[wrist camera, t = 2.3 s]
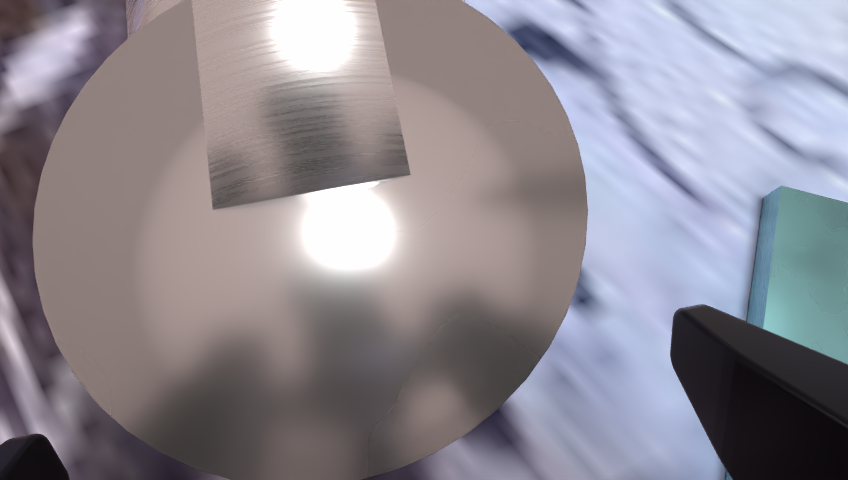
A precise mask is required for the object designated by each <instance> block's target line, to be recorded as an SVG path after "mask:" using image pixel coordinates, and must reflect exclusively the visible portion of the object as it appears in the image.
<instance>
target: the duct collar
mask: <svg viewBox="0 0 848 480" xmlns="http://www.w3.org/2000/svg"><path fill="white" fill-rule="evenodd" d="M747 322H748V323H751V324H753V325H756V326H758V327H760V328H763V329H765V330H768V331H770V332H772V333H775V334H777V335H779V336H782V337H784V338H787V339H789V340H791V341H794V342H796V343H799V344H801V345H803V346H806V347H808V348H811V349H813V350H815V351H818V352H820V353H822V354H825V355H827V356H830V357H832V358H834V359H837V360H839V361H842V362H844V363H846V364H848V203H846V202H843V201H839V200H835V199H831V198H827V197H823V196H819V195H815V194H812V193H808V192H804V191H800V190H796V189H792V188H788V187H784V186H780V187H779V188H777V189H776V190H774V191H773V192H771V193H770V194H768V195H767V196H765V197H764V198H763V206H762V213H761V221H760V228H759V235H758V243H757V250H756V258H755V265H754V272H753V280H752V287H751V295H750V302H749V310H748V317H747ZM726 480H732V478H731V476H730V475H729V473H728V472H727V473H726Z"/></svg>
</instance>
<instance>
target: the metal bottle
mask: <svg viewBox="0 0 848 480" xmlns="http://www.w3.org/2000/svg"><path fill="white" fill-rule="evenodd" d="M126 12H127V28H128V39H127V40H126V41H125V42H124V43H123V44H122V45H121V46H120V47H119V48H118V49H116V50H115V51H114V52H113V53H112V54H111V55H110V56H109V57H108V58H107V59H106V60H105V61H104V63H103V64H102V65H101V66H100V67H99V69H98V70H97V71H96V72H95V73H94V74H93V76H92V77H91V78H90V79H89V80H88V82H87V83H86V84H85V86H84V87H83V89H82V90H81V92H80V93H79V95H78V96H77V98H76V99H75V101H74V102H73V104H72V105H71V107H70V108H69V110H68V111H67V113H66V115H65V117H64V120H63V122H62V124H61V126H60V128H59V130H58V132H57V134H56V136H55V138H54V140H53V142H52V145H51V148H50V150H49V153H48V156H47V159H46V162H45V165H44V168H43V171H42V174H41V179H40V184H39V189H38V194H37V199H36V203H35V211H34V227H33V253H34V265H35V277H36V281H37V285H38V290H39V294H40V298H41V303H42V307H43V311H44V314H45V316H46V319H47V321H48V324H49V326H50V329H51V331H52V334H53V337H54V339H55V342H56V344H57V346H58V348H59V349H60V351H61V353H62V354H63V356H64V358H65V360H66V361H67V363H68V365H69V366H70V368H71V370H72V372H73V373H74V375H75V377H76V378H77V379H78V380H79V381H80V383H81V384H82V385H83V386H84V388H85V389H86V390H87V391H88V393H89V394H90V395H91V396H92V398H93V399H94V400H95V401H96V402H97V404H98V405H99V406H100V407H101V408H102V409H104V410H105V411H106V412H107V413H108V414H109V415H110V416H111V417H112V418H113V419H115V420H116V421H117V422H118V423H119V424H120V425H121V426H122V427H123V428H124V429H126V430H127V431H128V432H130V433H131V434H133V435H134V436H136V437H137V438H139V439H140V440H142V441H143V442H145V443H146V444H148V445H149V446H151V447H152V448H154V449H155V450H157V451H158V452H160V453H162V454H165V455H167V456H169V457H171V458H173V459H175V460H177V461H179V462H182V463H184V464H186V465H188V466H190V467H192V468H194V469H198V470H201V471H204V472H208V473H211V474H214V475H218V476H221V477H224V478H228V479H231V480H361V479H364V478H368V477H372V476H375V475H379V474H382V473H386V472H390V471H393V470H397V469H399V468H401V467H403V466H406V465H408V464H410V463H413V462H415V461H417V460H420V459H422V458H424V457H427V456H429V455H431V454H434V453H435V452H437V451H439V450H440V449H442V448H444V447H445V446H447V445H449V444H450V443H452V442H453V441H455V440H457V439H458V438H460V437H462V436H463V435H465V434H467V433H468V432H470V431H471V430H472V429H473V428H475V427H476V426H477V425H478V424H480V423H481V422H482V421H483V420H485V419H486V418H487V417H488V416H489V415H491V414H492V413H493V412H494V411H496V410H497V409H498V408H499V407H500V406H501V405H502V404H503V403H504V402H505V401H506V400H507V399H508V398H509V397H510V396H511V395H512V394H513V393H514V392H515V391H516V389H517V388H518V387H519V386H520V385H521V384H522V383H523V382H524V381H525V380H526V379H527V378H528V376H529V375H530V373H531V372H532V371H533V369H534V368H535V366H536V365H537V363H538V362H539V361H540V359H541V358H542V356H543V355H544V354H545V352H546V351H547V349H548V348H549V346H550V344H551V343H552V341H553V339H554V337H555V335H556V333H557V331H558V329H559V327H560V325H561V323H562V321H563V320H564V318H565V316H566V314H567V311H568V308H569V305H570V302H571V300H572V297H573V294H574V291H575V288H576V285H577V283H578V280H579V275H580V270H581V265H582V260H583V255H584V251H585V246H586V231H587V215H588V208H587V195H586V182H585V174H584V170H583V165H582V161H581V156H580V151H579V147H578V143H577V141H576V138H575V135H574V133H573V130H572V127H571V124H570V122H569V119H568V116H567V114H566V112H565V110H564V108H563V106H562V104H561V103H560V101H559V99H558V97H557V95H556V93H555V91H554V89H553V87H552V86H551V84H550V83H549V82H548V80H547V79H546V77H545V76H544V75H543V73H542V72H541V70H540V69H539V68H538V66H537V65H536V63H535V62H534V61H533V60H532V58H531V57H530V56H529V55H528V54H527V53H526V52H525V51H524V50H523V49H522V48H521V47H520V46H519V44H518V43H517V42H516V41H515V40H514V39H513V38H512V37H511V36H510V35H508V34H507V33H506V32H505V31H504V30H502V29H501V28H500V27H499V26H498V25H496V24H495V23H494V22H493V21H492V20H490V19H489V18H488V17H486V16H485V15H483V14H482V13H480V12H479V11H477V10H476V9H474V8H473V7H471V6H469V5H468V4H466V3H465V0H126Z"/></svg>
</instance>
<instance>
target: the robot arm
mask: <svg viewBox="0 0 848 480" xmlns="http://www.w3.org/2000/svg"><path fill="white" fill-rule="evenodd" d="M670 356H671V362H672V365H673V368H674V370H675V372H676V374H677V376H678V378H679V380H680V382H681V384H682V386H683V388H684V390H685V392H686V394H687V396H688V398H689V400H690V402H691V404H692V406H693V408H694V410H695V412H696V414H697V416H698V418H699V420H700V422H701V424H702V426H703V428H704V430H705V432H706V434H707V436H708V438H709V440H710V442H711V444H712V446H713V447H714V449H715V451H716V453H717V455H718V457H719V459H720V460H721V462H722V464H723V465H724V467H725V468H726V470H727V472H728V473H729V475H730V476H731V478H732V480H848V364H846V363H844V362H842V361H839V360H837V359H834V358H832V357H830V356H827V355H825V354H822V353H820V352H818V351H815V350H813V349H811V348H808V347H806V346H803V345H801V344H799V343H796V342H794V341H791V340H789V339H787V338H784V337H782V336H779V335H777V334H775V333H772V332H770V331H768V330H765V329H763V328H760V327H758V326H756V325H753V324H751V323H748V322H746V321H744V320H741V319H739V318H736V317H734V316H732V315H729V314H727V313H725V312H722V311H720V310H717V309H715V308H713V307H710V306H707V305H703V304H701V305H695V306H690V307H684V308H680V309H678V310H677V311H676V312H675V314H674V317H673V325H672V337H671V350H670ZM0 480H70V478H69V475H68V472H67V470H66V469H65V467H64V465H63V464H62V462H61V460H60V459H59V457H58V455H57V453H56V452H55V450H54V448H53V447H52V445H51V443H50V442H49V440H48V439H47V438H46V437H45V436H44V435H42V434H31V435H26V436H21V437H16V438H12V439H9V440H7V441H5V442H4V443H3V444H1V445H0Z"/></svg>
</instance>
